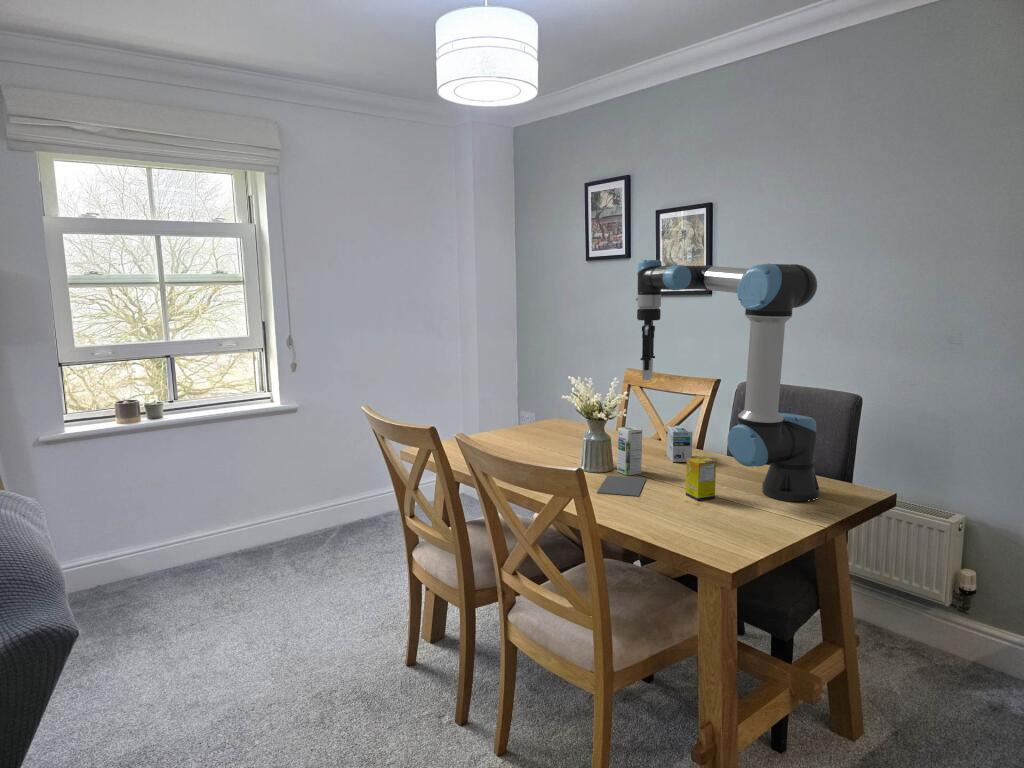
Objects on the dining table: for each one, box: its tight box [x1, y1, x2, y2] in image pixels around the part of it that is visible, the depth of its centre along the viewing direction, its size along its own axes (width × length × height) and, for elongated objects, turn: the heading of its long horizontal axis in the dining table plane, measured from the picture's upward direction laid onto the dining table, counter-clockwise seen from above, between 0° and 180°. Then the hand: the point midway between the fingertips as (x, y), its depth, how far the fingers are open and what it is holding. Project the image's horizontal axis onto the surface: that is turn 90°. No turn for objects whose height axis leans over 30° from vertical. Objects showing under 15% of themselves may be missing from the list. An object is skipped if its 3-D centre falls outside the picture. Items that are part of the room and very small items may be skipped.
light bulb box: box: [666, 425, 693, 463], centre depth 233 cm, size 11×7×11 cm, turn 179°
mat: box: [596, 475, 647, 498], centre depth 203 cm, size 18×12×1 cm, turn 162°
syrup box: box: [616, 426, 643, 477], centre depth 216 cm, size 6×6×14 cm
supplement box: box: [685, 456, 717, 502], centre depth 192 cm, size 6×6×11 cm
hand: (647, 378), depth 225 cm, fingers open, 4 cm apart
